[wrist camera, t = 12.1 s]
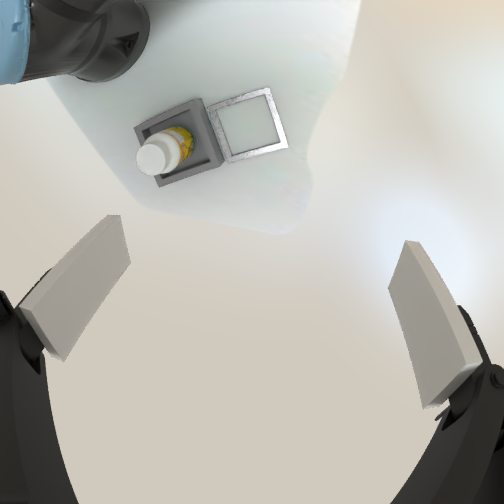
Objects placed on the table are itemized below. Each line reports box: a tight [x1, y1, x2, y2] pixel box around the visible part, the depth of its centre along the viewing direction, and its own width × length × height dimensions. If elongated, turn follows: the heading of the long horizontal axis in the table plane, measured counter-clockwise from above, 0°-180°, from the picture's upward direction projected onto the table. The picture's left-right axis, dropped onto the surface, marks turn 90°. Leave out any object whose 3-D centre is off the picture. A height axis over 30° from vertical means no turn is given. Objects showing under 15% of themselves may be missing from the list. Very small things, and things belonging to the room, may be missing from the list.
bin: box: [134, 98, 224, 187], centre depth 36 cm, size 10×10×3 cm
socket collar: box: [207, 87, 288, 164], centre depth 35 cm, size 9×9×1 cm
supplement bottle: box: [136, 125, 195, 176], centre depth 33 cm, size 5×5×10 cm
